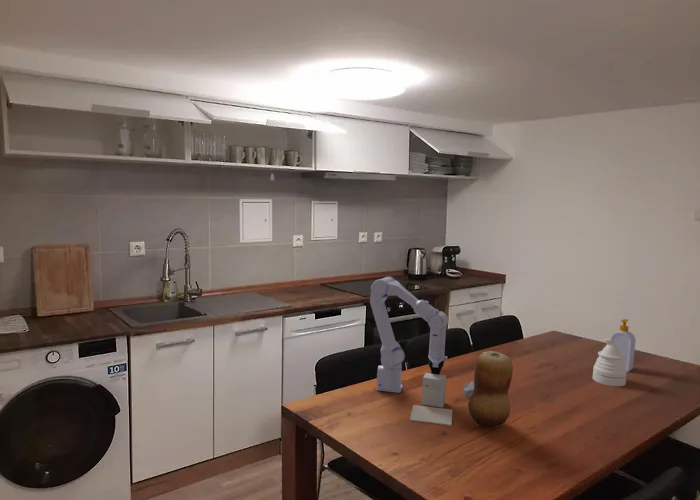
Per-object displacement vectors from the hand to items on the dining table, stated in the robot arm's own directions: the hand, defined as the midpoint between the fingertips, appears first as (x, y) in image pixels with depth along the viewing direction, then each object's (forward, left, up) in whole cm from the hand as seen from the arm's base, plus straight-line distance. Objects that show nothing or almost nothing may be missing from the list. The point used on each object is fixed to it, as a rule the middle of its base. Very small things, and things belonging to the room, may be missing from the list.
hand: (435, 379), depth 194 cm
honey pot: (+72, +43, -8) cm, 84 cm away
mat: (0, -15, -7) cm, 17 cm away
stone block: (+16, +10, -8) cm, 20 cm away
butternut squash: (+19, -18, -8) cm, 27 cm away
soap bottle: (+82, +63, -8) cm, 104 cm away
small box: (0, -5, -8) cm, 9 cm away
